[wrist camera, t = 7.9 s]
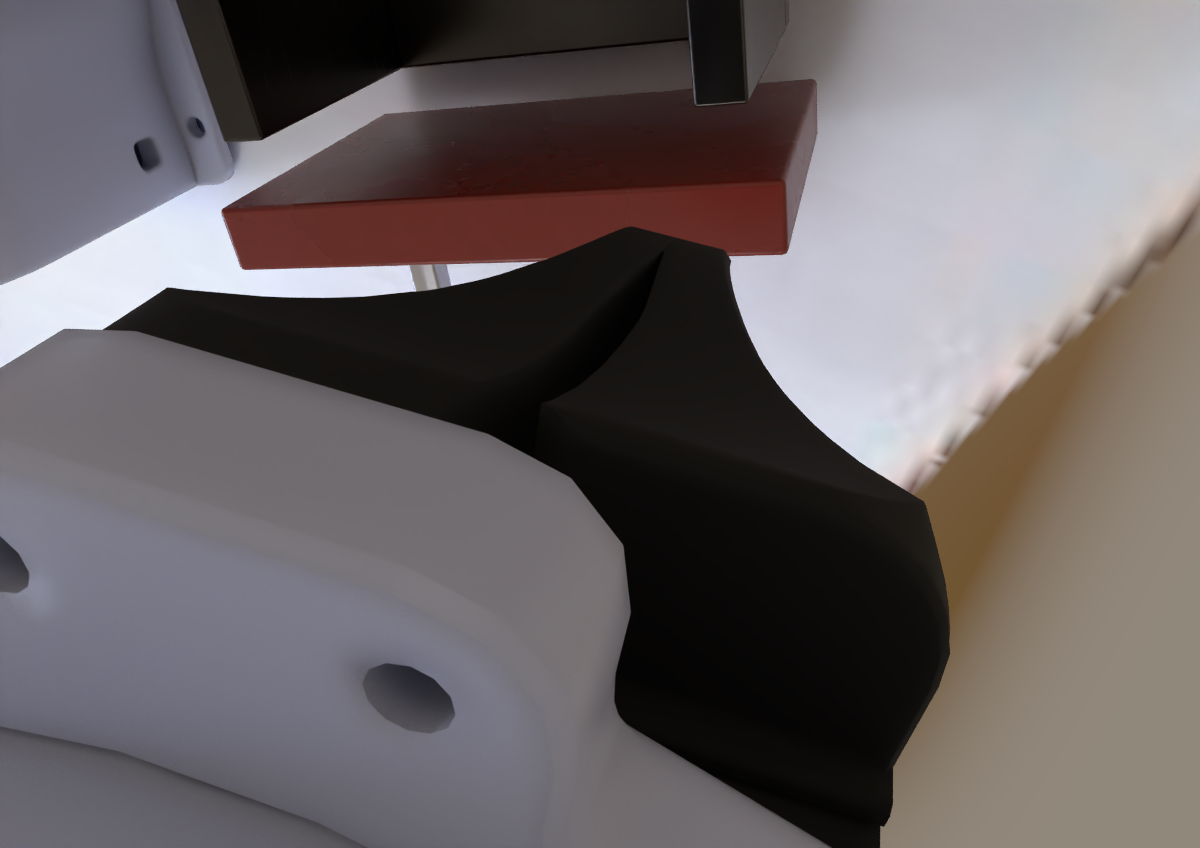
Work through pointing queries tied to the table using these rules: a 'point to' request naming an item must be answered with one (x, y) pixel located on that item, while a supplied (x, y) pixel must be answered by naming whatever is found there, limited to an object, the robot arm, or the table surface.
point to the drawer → (505, 132)
